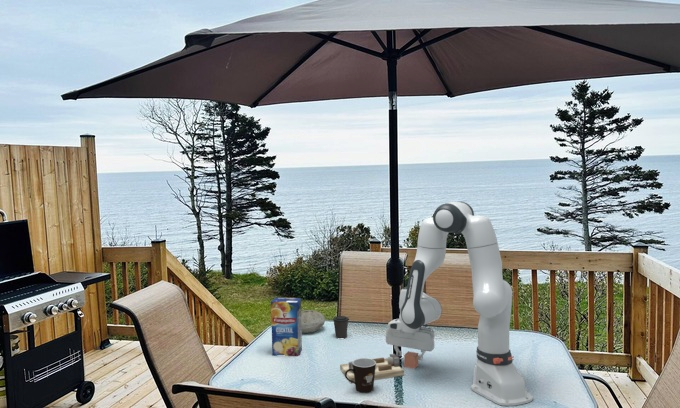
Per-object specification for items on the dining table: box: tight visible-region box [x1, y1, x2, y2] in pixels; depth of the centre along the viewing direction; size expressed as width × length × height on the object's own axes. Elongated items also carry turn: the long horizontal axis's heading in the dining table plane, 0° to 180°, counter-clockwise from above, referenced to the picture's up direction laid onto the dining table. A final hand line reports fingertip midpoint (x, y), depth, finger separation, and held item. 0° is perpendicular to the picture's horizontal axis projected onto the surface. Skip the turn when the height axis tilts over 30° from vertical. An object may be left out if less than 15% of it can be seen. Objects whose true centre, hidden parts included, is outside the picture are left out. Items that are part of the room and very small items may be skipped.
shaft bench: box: [339, 353, 405, 384], centre depth 194 cm, size 14×22×5 cm, turn 107°
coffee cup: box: [332, 315, 350, 339], centre depth 237 cm, size 8×8×10 cm
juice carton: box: [270, 297, 303, 357], centre depth 217 cm, size 12×8×24 cm, turn 82°
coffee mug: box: [344, 357, 376, 394], centre depth 179 cm, size 12×9×10 cm
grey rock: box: [301, 309, 326, 334], centre depth 248 cm, size 18×18×10 cm
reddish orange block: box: [404, 351, 420, 370], centre depth 200 cm, size 4×4×5 cm
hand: (409, 357), depth 200 cm, fingers open, 8 cm apart
